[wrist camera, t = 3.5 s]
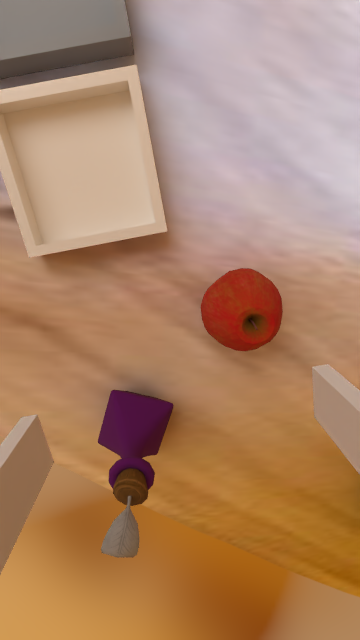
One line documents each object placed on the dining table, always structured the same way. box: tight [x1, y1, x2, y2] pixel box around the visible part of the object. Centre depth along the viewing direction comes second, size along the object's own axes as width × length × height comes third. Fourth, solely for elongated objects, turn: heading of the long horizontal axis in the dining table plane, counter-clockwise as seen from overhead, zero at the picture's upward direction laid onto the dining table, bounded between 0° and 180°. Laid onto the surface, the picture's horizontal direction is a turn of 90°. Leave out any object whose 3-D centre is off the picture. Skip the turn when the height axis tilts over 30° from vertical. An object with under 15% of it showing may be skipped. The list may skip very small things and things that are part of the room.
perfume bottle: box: [98, 390, 173, 557], centre depth 31 cm, size 8×8×18 cm
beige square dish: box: [0, 65, 167, 258], centre depth 30 cm, size 14×14×3 cm
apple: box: [201, 268, 282, 351], centre depth 31 cm, size 8×8×11 cm
